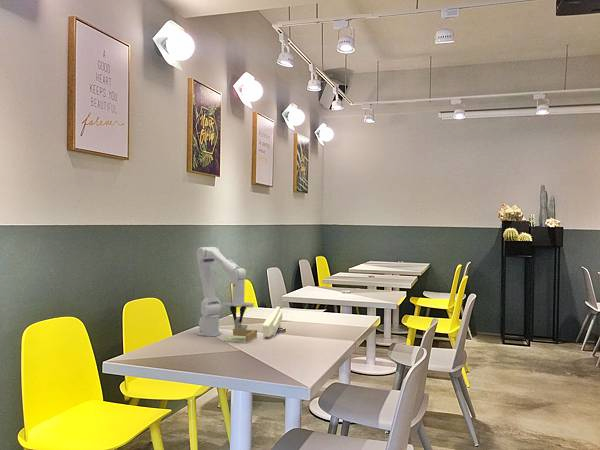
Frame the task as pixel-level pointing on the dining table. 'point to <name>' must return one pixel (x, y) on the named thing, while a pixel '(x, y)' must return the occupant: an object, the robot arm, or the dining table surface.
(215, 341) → the dining table surface
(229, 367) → the dining table surface
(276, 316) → the shelf bracket
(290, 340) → the dining table surface
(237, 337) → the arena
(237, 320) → the angle bracket
